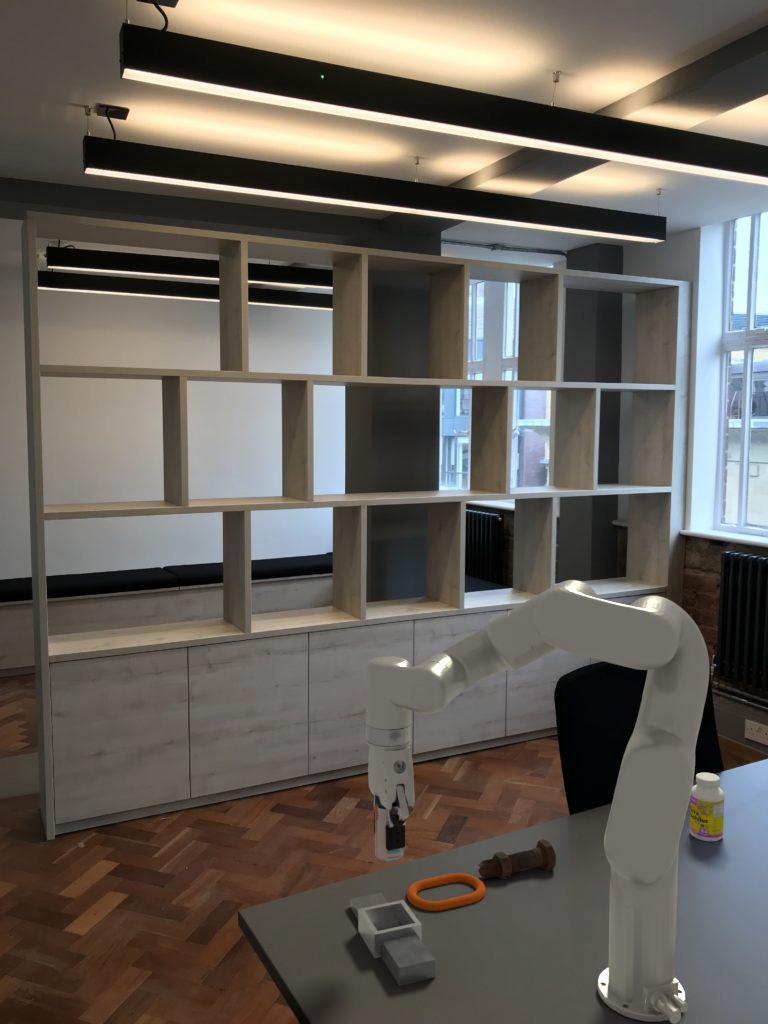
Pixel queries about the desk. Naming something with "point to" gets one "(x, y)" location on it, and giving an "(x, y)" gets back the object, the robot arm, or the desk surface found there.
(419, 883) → the metal ring
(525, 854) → the bolt
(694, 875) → the desk surface
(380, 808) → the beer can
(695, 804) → the supplement bottle
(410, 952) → the bar with square collar
